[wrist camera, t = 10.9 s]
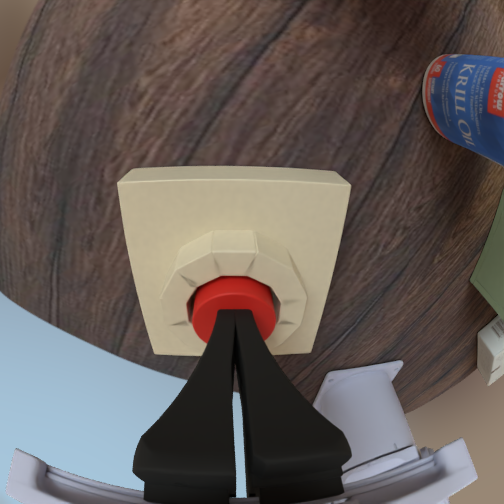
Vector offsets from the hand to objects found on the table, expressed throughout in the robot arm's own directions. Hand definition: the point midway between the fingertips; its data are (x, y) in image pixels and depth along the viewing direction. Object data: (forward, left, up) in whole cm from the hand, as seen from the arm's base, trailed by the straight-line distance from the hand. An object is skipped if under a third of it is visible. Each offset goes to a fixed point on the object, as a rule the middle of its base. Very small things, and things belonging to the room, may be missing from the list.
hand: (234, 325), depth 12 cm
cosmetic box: (-8, -29, -3) cm, 30 cm away
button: (0, 0, -2) cm, 2 cm away
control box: (0, 0, -5) cm, 5 cm away
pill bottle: (+11, -12, -5) cm, 17 cm away
